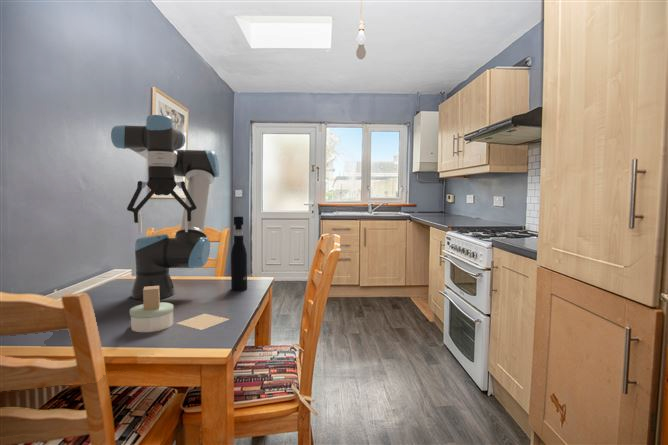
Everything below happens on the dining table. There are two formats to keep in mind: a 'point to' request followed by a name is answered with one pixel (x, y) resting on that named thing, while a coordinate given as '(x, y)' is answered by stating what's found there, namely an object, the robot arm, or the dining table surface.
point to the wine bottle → (238, 259)
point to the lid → (151, 305)
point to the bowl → (152, 323)
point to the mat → (202, 321)
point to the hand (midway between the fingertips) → (163, 232)
